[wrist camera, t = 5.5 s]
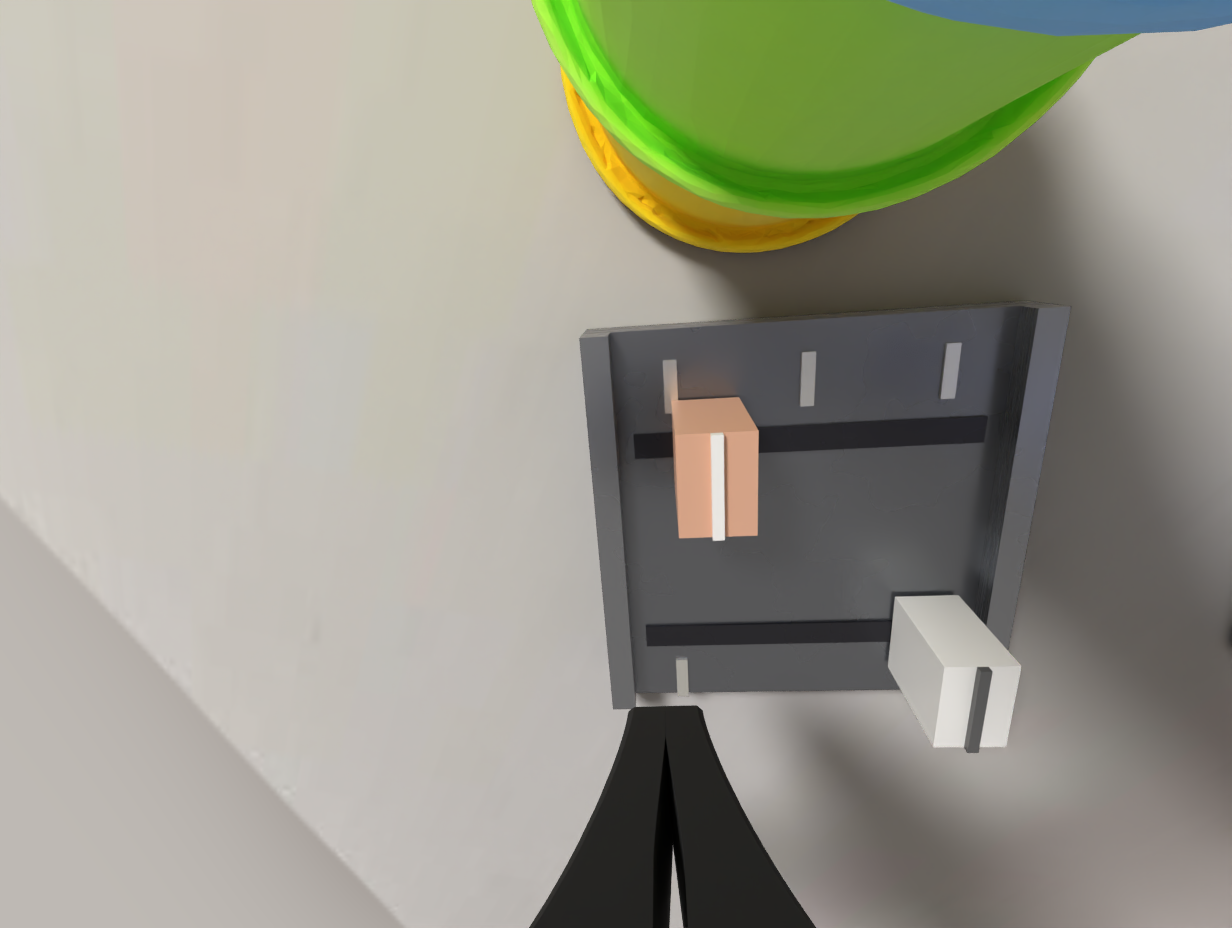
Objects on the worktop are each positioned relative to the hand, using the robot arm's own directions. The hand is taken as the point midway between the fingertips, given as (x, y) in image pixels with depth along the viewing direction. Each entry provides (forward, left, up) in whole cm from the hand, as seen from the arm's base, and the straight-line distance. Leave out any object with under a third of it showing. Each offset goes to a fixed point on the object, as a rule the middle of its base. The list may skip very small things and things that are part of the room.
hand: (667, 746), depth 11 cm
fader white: (-9, +4, -8) cm, 12 cm away
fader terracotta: (-2, -4, -8) cm, 9 cm away
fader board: (-5, 0, -10) cm, 11 cm away
